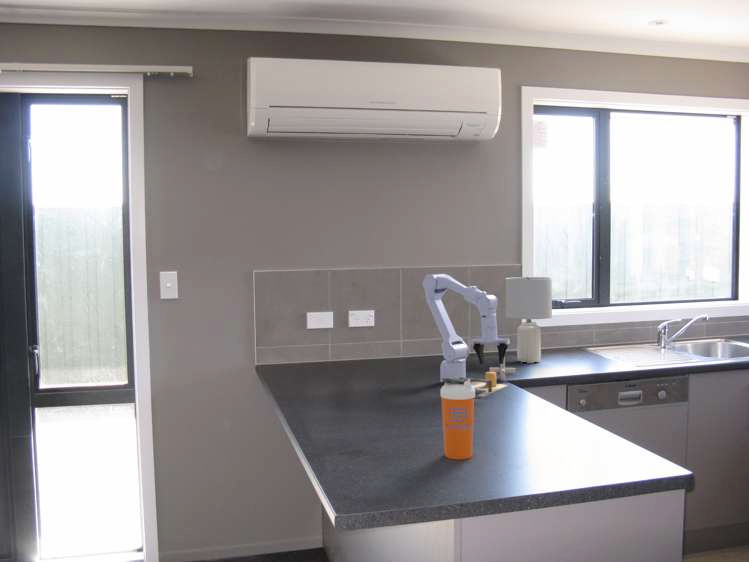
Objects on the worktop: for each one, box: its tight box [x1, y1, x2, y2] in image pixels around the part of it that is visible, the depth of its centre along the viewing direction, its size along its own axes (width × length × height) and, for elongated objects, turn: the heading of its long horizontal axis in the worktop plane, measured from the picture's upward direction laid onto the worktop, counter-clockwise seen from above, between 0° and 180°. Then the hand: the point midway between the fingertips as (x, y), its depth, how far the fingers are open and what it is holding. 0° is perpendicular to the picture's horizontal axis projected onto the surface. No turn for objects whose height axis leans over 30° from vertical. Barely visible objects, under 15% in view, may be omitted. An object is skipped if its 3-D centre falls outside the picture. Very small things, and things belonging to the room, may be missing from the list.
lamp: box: [505, 276, 553, 364], centre depth 319 cm, size 20×20×39 cm
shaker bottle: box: [439, 377, 476, 461], centre depth 181 cm, size 9×9×20 cm
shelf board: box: [459, 377, 509, 401], centre depth 258 cm, size 14×22×5 cm, turn 146°
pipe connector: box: [489, 356, 517, 381], centre depth 273 cm, size 10×10×10 cm
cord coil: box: [484, 371, 497, 387], centre depth 262 cm, size 4×4×5 cm
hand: (491, 363), depth 262 cm, fingers open, 7 cm apart
